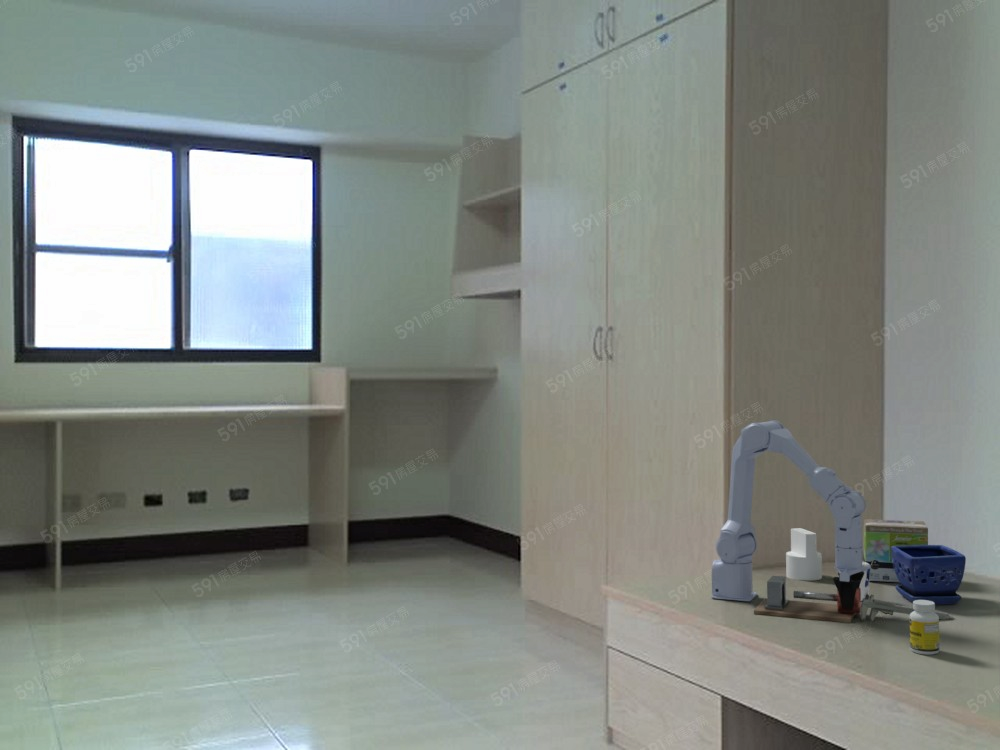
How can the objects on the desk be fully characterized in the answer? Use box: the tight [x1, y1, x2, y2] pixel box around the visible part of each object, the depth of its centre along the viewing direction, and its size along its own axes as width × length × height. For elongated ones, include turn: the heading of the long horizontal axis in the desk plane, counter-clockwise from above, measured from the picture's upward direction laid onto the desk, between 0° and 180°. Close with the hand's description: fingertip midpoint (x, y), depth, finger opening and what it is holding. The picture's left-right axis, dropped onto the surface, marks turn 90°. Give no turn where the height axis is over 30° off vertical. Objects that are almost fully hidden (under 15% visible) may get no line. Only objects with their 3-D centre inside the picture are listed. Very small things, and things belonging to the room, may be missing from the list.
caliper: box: [860, 594, 955, 623], centre depth 225 cm, size 20×1×6 cm, turn 91°
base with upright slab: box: [785, 527, 823, 582], centre depth 269 cm, size 9×9×12 cm
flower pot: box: [891, 544, 967, 605], centre depth 242 cm, size 13×13×12 cm
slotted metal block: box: [765, 575, 789, 611], centre depth 237 cm, size 4×8×6 cm, turn 154°
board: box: [753, 597, 856, 624], centre depth 234 cm, size 21×12×1 cm, turn 64°
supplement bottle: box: [909, 600, 940, 656], centre depth 202 cm, size 5×5×10 cm
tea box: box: [863, 518, 929, 583], centre depth 264 cm, size 15×10×15 cm, turn 73°
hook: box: [793, 587, 862, 615], centre depth 232 cm, size 14×5×6 cm, turn 64°
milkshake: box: [859, 559, 874, 602], centre depth 243 cm, size 4×5×10 cm
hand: (849, 606), depth 230 cm, fingers closed on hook, 5 cm apart
